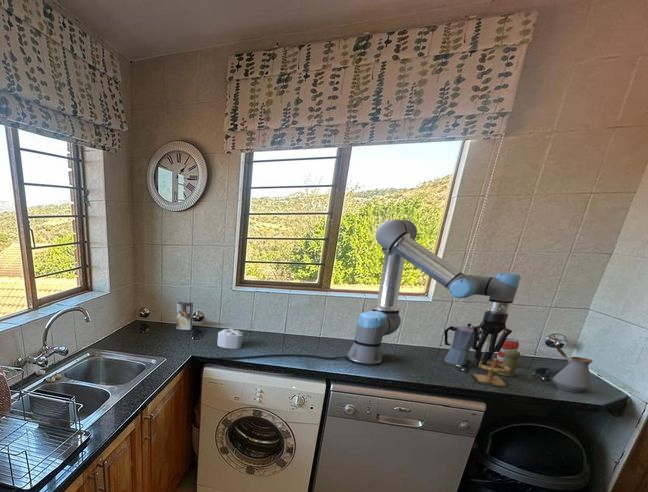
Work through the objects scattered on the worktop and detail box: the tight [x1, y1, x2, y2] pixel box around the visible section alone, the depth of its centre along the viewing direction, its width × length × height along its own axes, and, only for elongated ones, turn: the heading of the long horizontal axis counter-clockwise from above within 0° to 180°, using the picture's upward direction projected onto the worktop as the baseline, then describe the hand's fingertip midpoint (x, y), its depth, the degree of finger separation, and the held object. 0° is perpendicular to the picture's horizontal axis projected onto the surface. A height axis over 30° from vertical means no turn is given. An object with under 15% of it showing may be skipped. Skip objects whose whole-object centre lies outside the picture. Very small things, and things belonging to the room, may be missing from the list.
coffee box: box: [176, 301, 194, 331], centre depth 249 cm, size 9×6×16 cm
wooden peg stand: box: [473, 357, 507, 387], centre depth 171 cm, size 9×9×10 cm
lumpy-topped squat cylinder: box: [216, 328, 244, 350], centre depth 217 cm, size 10×13×9 cm
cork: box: [496, 350, 521, 377], centre depth 179 cm, size 6×6×11 cm
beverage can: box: [495, 337, 520, 364], centre depth 192 cm, size 6×6×12 cm
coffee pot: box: [549, 343, 593, 393], centre depth 168 cm, size 21×12×15 cm, turn 171°
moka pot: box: [443, 323, 483, 366], centre depth 190 cm, size 10×15×20 cm, turn 78°
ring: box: [477, 360, 511, 373], centre depth 171 cm, size 11×11×2 cm
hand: (479, 366), depth 173 cm, fingers closed on ring, 2 cm apart
